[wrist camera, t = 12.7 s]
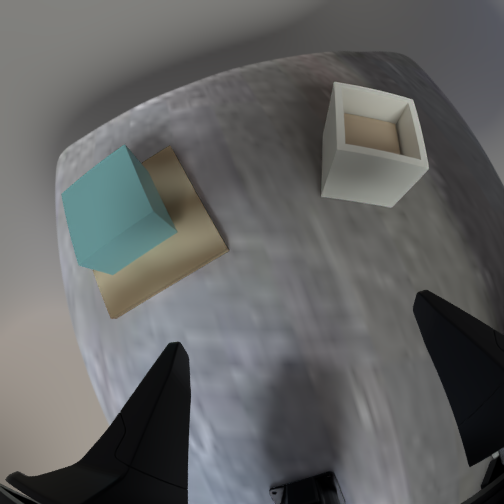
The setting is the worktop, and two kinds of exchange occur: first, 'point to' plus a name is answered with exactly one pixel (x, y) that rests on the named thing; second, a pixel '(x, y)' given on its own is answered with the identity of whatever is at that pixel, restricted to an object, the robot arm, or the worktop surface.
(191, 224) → the oak board
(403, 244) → the worktop surface
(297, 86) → the worktop surface
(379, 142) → the cream storage box
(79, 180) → the aqua cube
